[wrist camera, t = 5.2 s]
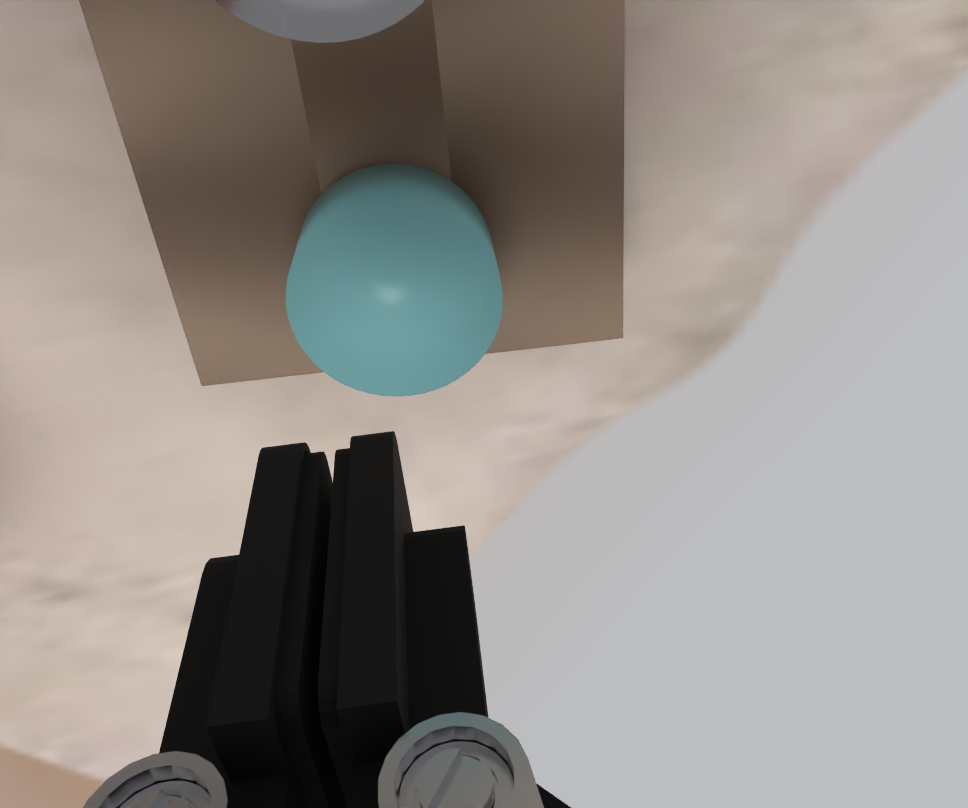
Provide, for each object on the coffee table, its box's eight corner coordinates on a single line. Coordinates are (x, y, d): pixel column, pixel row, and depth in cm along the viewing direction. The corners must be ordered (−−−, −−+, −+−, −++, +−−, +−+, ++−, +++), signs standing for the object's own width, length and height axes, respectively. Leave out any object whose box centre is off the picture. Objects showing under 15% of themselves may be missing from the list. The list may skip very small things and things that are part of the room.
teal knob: (298, 127, 22) (263, 213, 17) (472, 108, 22) (494, 188, 17) (330, 287, 25) (309, 407, 19) (487, 269, 25) (510, 384, 19)
